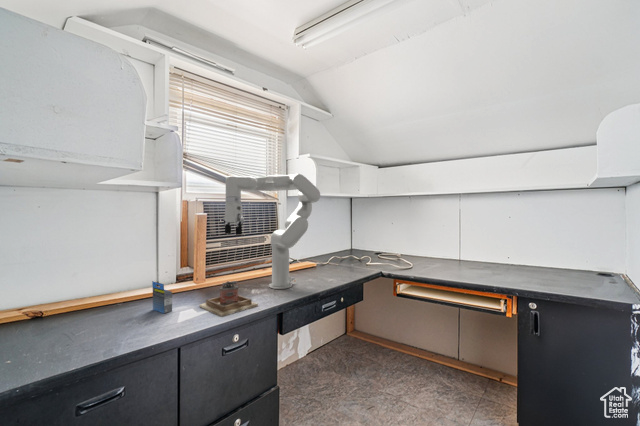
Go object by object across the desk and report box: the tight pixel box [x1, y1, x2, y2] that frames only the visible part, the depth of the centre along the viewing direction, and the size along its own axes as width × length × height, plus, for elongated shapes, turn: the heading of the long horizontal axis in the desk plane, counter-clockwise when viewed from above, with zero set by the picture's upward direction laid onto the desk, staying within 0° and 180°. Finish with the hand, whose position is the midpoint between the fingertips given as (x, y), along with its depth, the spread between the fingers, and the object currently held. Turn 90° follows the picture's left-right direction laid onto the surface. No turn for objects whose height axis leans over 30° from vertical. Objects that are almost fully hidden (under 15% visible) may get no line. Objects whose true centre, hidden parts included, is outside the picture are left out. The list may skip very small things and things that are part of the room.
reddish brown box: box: [219, 280, 239, 306], centre depth 136 cm, size 8×3×10 cm, turn 117°
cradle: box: [199, 294, 259, 317], centre depth 136 cm, size 18×18×3 cm
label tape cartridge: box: [151, 281, 173, 314], centre depth 130 cm, size 9×4×12 cm, turn 58°
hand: (233, 233), depth 156 cm, fingers open, 9 cm apart
